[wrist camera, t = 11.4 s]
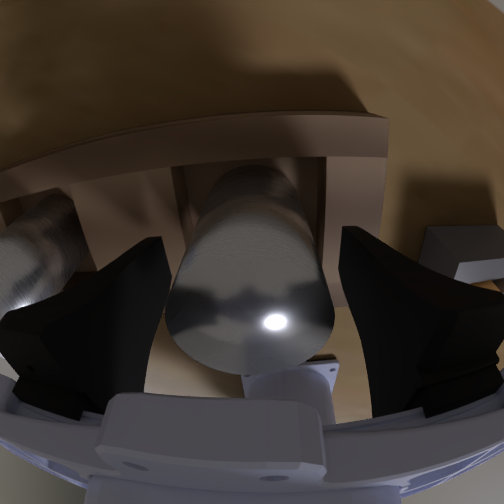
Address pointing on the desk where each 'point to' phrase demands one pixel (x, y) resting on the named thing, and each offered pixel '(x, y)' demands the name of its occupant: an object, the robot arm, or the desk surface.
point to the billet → (40, 252)
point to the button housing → (465, 253)
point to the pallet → (208, 179)
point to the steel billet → (251, 279)
